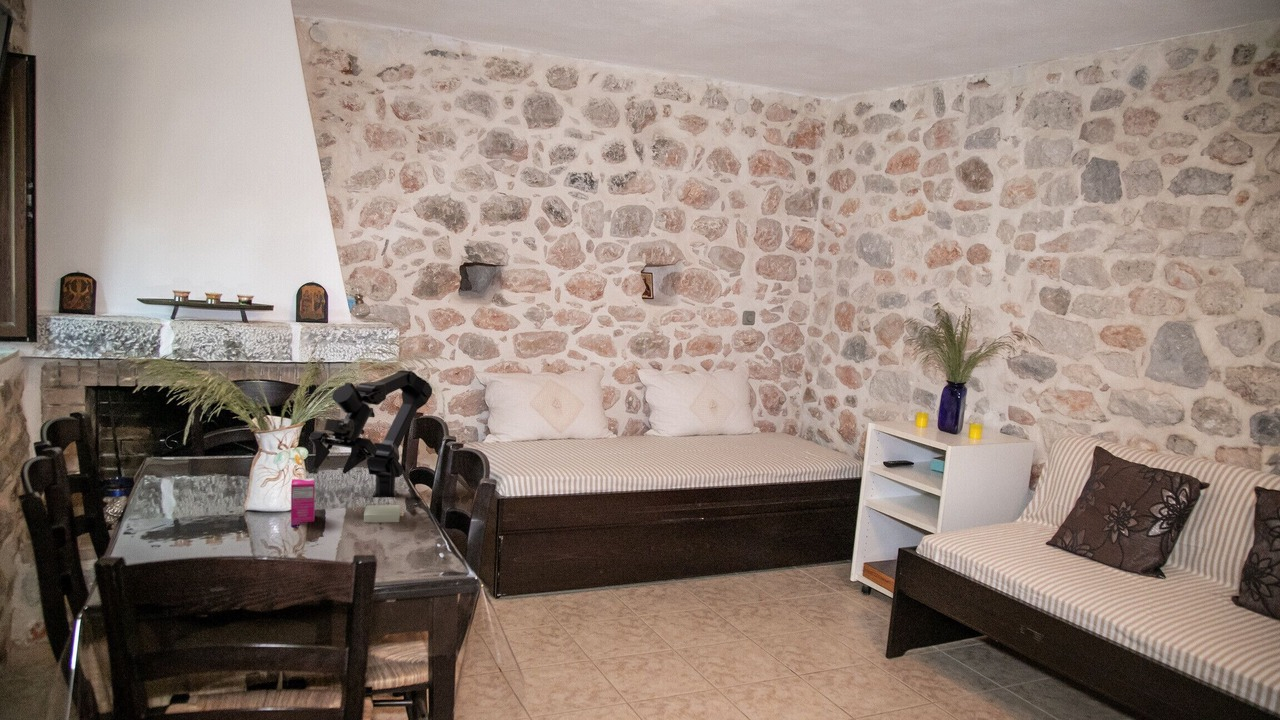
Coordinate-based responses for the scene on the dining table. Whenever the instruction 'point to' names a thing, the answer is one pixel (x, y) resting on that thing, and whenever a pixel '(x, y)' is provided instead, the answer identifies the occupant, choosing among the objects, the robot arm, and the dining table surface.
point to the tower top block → (382, 513)
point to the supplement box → (302, 501)
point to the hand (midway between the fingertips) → (329, 470)
